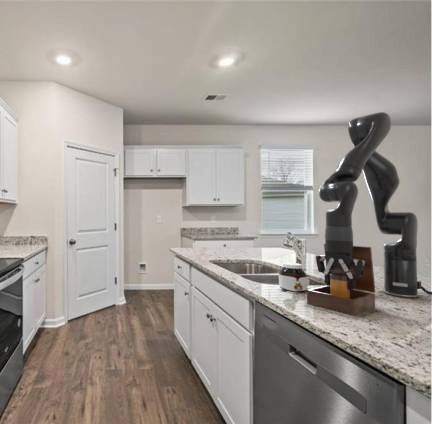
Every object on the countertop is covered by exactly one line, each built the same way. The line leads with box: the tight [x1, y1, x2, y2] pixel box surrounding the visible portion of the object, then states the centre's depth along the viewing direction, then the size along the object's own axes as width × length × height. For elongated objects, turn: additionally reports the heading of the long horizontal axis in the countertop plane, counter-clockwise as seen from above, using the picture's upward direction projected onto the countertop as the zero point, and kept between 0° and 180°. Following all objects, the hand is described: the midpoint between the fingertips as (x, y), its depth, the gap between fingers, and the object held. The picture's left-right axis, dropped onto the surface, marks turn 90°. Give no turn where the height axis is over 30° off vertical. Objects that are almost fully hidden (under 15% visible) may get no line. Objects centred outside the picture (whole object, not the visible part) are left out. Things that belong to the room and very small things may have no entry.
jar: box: [329, 273, 350, 299], centre depth 96 cm, size 6×6×11 cm
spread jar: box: [278, 262, 310, 293], centre depth 120 cm, size 12×11×12 cm
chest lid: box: [323, 243, 376, 293], centre depth 99 cm, size 16×14×1 cm
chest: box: [306, 285, 376, 317], centre depth 96 cm, size 15×14×6 cm
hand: (339, 287), depth 96 cm, fingers closed on jar, 6 cm apart
